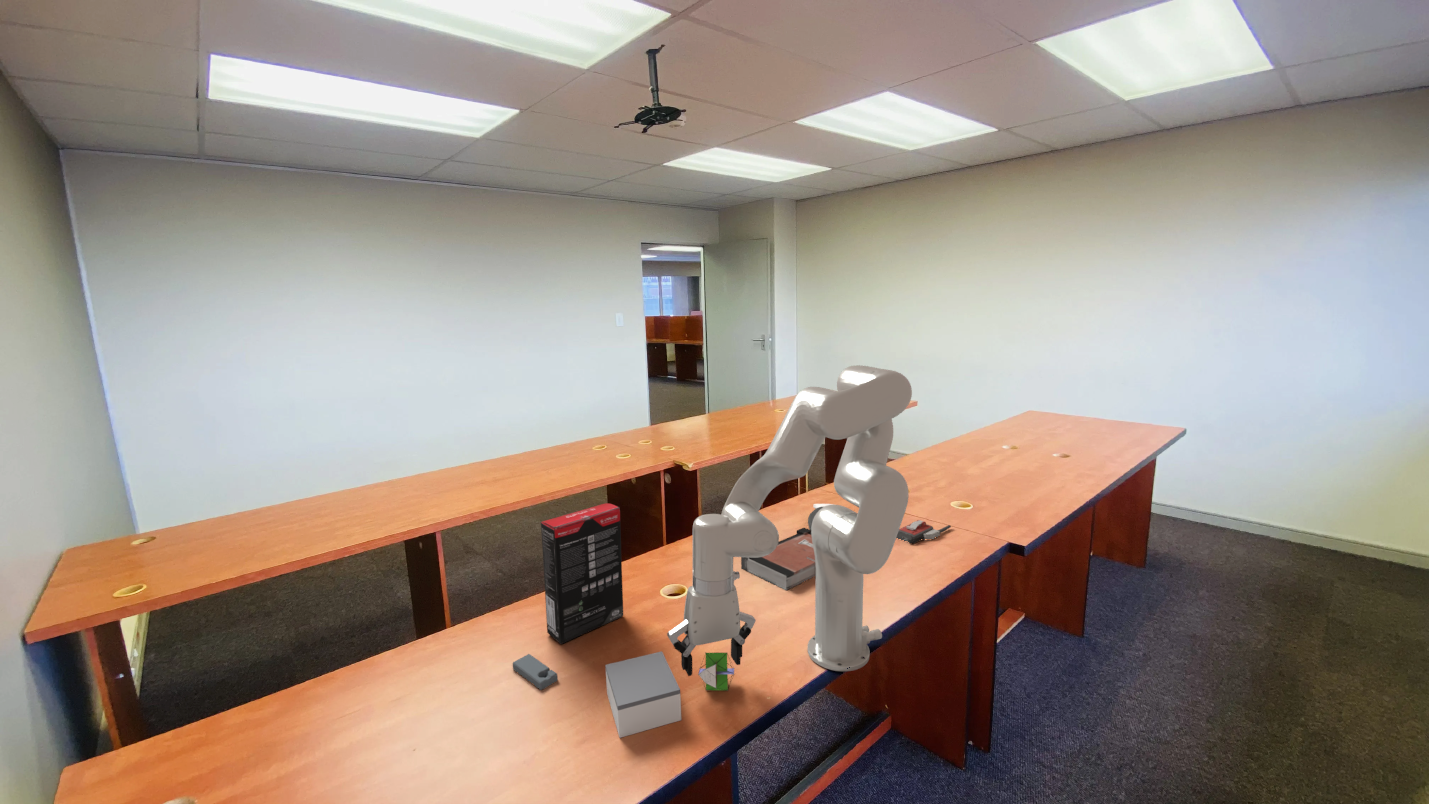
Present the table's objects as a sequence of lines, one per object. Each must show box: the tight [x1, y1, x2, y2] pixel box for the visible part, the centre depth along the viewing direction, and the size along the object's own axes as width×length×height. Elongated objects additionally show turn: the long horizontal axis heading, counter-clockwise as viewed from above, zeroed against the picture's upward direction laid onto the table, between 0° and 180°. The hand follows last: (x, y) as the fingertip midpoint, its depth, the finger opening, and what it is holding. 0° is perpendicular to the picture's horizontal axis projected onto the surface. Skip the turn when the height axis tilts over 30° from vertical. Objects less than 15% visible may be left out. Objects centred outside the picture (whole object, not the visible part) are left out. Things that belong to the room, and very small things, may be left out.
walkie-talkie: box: [896, 519, 952, 544], centre depth 176 cm, size 9×4×20 cm
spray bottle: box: [807, 503, 835, 530], centre depth 190 cm, size 3×11×24 cm
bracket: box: [512, 653, 559, 691], centre depth 113 cm, size 4×10×2 cm, turn 49°
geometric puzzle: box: [697, 651, 735, 691], centre depth 108 cm, size 7×7×8 cm
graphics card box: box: [540, 502, 624, 645], centre depth 128 cm, size 17×7×27 cm, turn 134°
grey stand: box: [604, 651, 682, 738], centre depth 103 cm, size 11×12×6 cm
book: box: [740, 527, 816, 592], centre depth 158 cm, size 26×18×5 cm
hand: (712, 666), depth 108 cm, fingers open, 9 cm apart
